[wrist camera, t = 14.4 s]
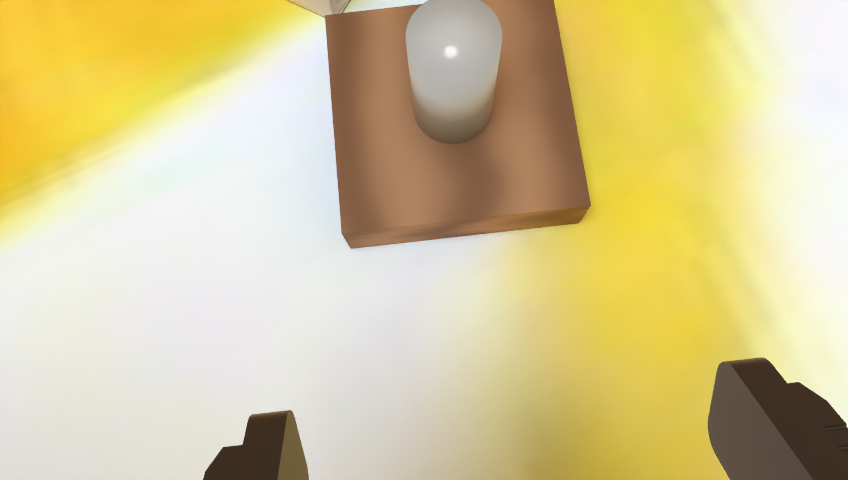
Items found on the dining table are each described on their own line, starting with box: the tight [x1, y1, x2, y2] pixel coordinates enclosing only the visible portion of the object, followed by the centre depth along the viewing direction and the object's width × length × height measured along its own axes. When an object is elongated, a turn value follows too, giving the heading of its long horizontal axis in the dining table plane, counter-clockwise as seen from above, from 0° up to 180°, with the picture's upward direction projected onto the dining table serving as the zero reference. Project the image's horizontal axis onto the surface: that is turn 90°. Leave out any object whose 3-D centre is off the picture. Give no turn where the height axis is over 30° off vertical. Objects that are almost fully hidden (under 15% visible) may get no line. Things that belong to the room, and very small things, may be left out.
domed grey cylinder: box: [406, 0, 502, 144], centre depth 35 cm, size 5×5×8 cm
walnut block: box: [325, 0, 591, 248], centre depth 40 cm, size 14×14×4 cm
